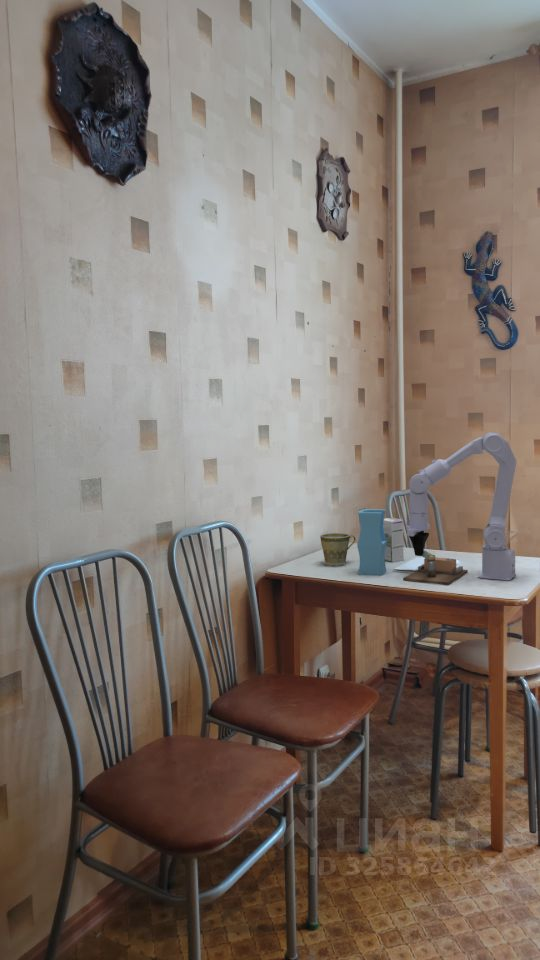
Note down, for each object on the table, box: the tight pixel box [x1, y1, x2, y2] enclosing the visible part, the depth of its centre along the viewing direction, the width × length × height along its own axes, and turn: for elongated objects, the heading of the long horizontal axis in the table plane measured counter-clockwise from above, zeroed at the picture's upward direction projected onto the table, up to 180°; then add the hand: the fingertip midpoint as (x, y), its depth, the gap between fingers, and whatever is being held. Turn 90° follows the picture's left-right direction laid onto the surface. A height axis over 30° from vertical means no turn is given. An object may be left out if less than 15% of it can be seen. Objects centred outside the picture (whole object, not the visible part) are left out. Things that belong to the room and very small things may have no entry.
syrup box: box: [383, 517, 405, 563], centre depth 247 cm, size 6×6×14 cm
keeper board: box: [402, 561, 469, 586], centre depth 220 cm, size 14×19×6 cm
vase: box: [356, 508, 387, 577], centre depth 228 cm, size 8×8×20 cm
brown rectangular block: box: [423, 556, 457, 572], centre depth 223 cm, size 9×4×4 cm, turn 58°
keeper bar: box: [421, 549, 436, 561], centre depth 221 cm, size 12×2×2 cm, turn 7°
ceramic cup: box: [319, 532, 356, 567], centre depth 243 cm, size 13×10×10 cm
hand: (418, 555), depth 222 cm, fingers closed, pressing on keeper bar
